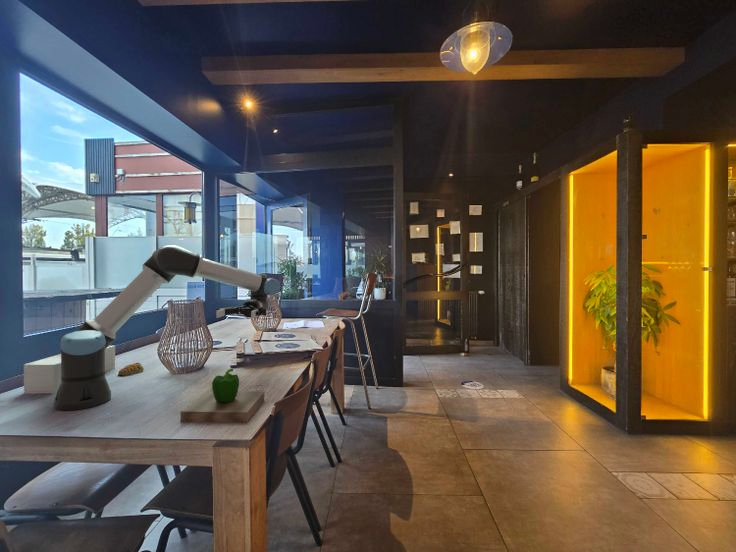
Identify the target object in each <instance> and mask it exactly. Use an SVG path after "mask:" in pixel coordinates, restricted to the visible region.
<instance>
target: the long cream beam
mask: <svg viewBox="0 0 736 552" xmlns="http://www.w3.org/2000/svg"><path fill="white" fill-rule="evenodd" d="M115 369H116V345H111V344H110V345H109V346H108V347H107V348H106V349H105V372H106V373H108V372H111V371H113V370H115ZM60 384H61V353H58V354H57V355H52V356H49V357H46V358H42V359H39V360H35V361H32V362H27V363H25V364H23V394H25V395H26V394H31V395H33V394H36V393H51V395H53V393H55V394H57V392H58V389H59V387H60Z"/></svg>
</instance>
